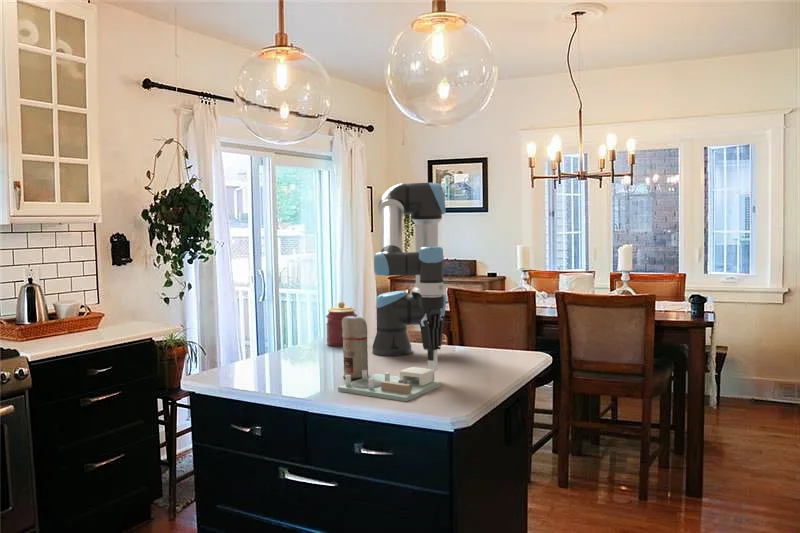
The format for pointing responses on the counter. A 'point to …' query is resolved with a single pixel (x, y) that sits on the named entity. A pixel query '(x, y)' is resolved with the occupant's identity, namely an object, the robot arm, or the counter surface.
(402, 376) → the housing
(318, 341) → the counter surface
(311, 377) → the counter surface
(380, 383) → the board
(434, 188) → the robot arm
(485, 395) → the counter surface
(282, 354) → the counter surface
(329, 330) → the canister
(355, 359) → the spray can
